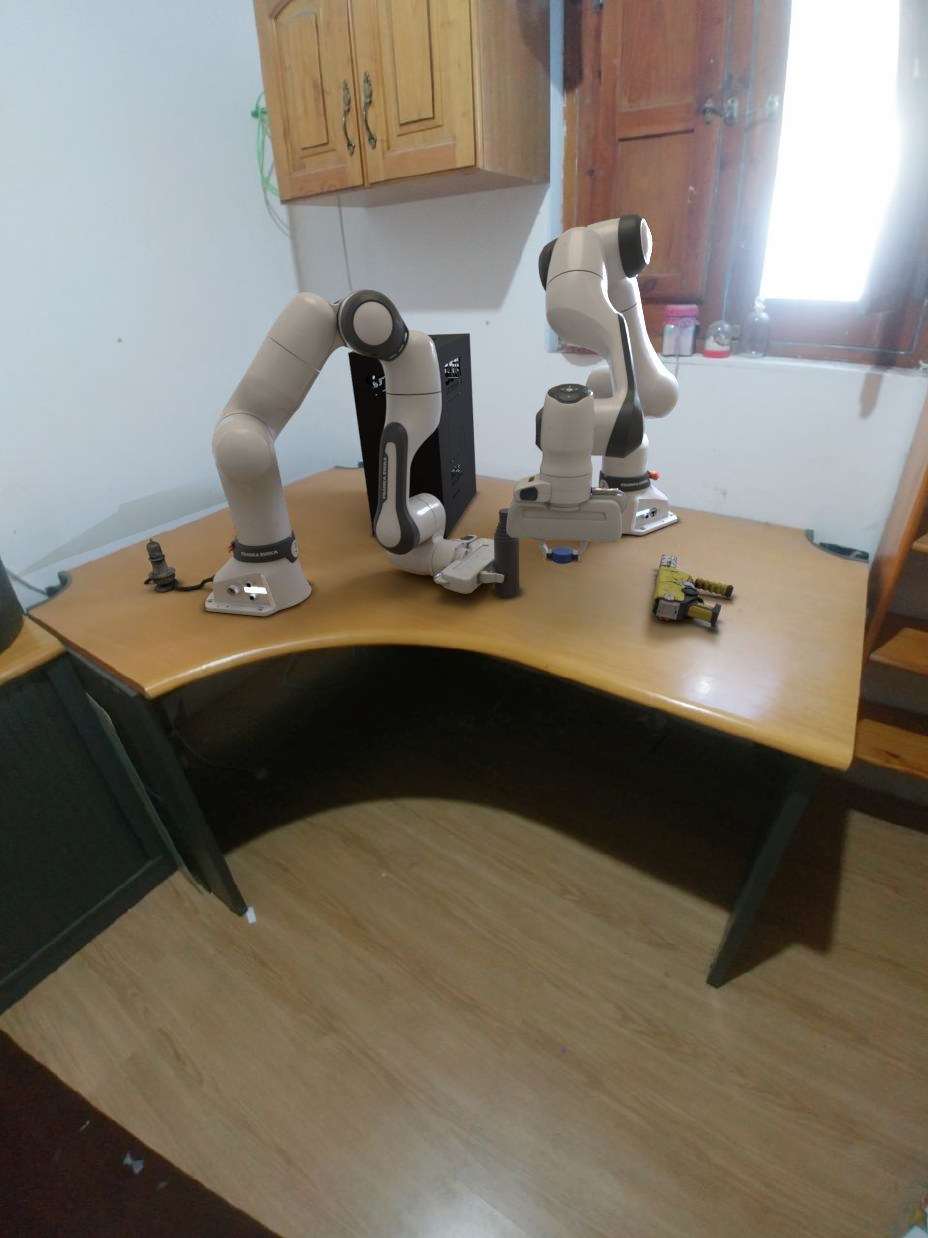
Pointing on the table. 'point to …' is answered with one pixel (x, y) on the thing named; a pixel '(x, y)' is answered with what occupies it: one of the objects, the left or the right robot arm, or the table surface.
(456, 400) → the black boxy piece
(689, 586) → the toy gun
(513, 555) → the bottle
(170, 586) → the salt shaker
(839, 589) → the table surface
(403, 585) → the table surface
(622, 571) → the table surface
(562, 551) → the cap
